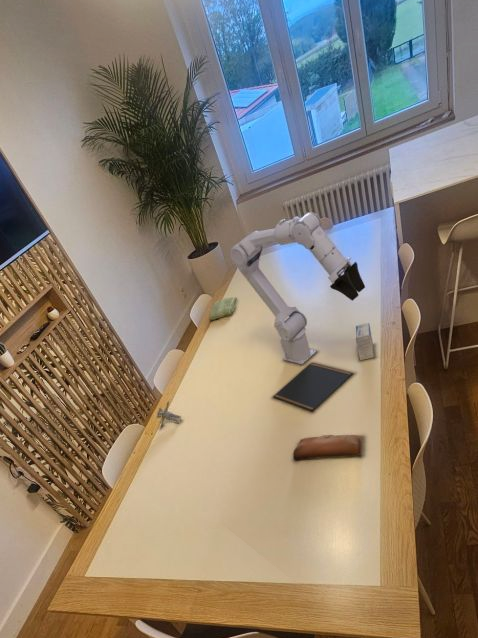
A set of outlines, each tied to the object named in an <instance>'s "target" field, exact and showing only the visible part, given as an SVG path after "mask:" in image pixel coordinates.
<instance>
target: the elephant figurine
mask: <svg viewBox="0 0 478 638" xmlns="http://www.w3.org/2000/svg"><path fill="white" fill-rule="evenodd" d="M169 405H170V401H167V403H166V406H165V408H164V409H163V408H161V407H159V408H158V411H157V413H156V414H157V415H156V419H161V423H160V428H161V429H162V428H163V426H164V422H165V419H166V420H167V421H172V422H175V423H178V424H180V423H181V418H182V416H181V415H178V414H175V413H173V412H171V411H168V408H169Z"/></svg>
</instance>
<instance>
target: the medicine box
mask: <svg viewBox="0 0 478 638" xmlns="http://www.w3.org/2000/svg"><path fill="white" fill-rule="evenodd" d="M355 342H356V347H357V352H358V356H359V360H360V361H364V360H369V359H373V358H374V357H375V355H374V343H373V337H372V331H371V326H370V322H365V323H361V324H357V325H355Z"/></svg>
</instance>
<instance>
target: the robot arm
mask: <svg viewBox="0 0 478 638" xmlns="http://www.w3.org/2000/svg"><path fill="white" fill-rule="evenodd" d="M273 243H277V244H278V245H280V246H285V245H290V244H294V243H296V244H298V245H300V246H303V247H304V248H305V249H306V250H309V252H310V253H311V254H312V256H314V258H315V259H316V260H317V262H318V263H319V265H320V266H321V267H322V268H323V269H324V270H325V271H326V273H327V274H328V275H329V276H328V277H327V278H328V280H329V281H330V282H331V284H330V286H329V287H330V288H331V290H335V291H337V292H339V293H341V294H342V295H344V296H345V297H346V298H348V299H349V300H350V301H354V300H355V299H357V298H358V297H359V296H360V295H359V293H361V292H362V291H363V290H364V289H365V288H366V286H365V283H364V281H363V279H362V276H361V273H360V271H359V268H358V267H359V266H358V263H357V261H355V262H354V263H352V262H351V261H350V260H352V257H351V256H349V257H348V258H346V257H345V256H344V255H343V253H342V252H341V251H340V250H339V248H338V247H337V246H336V244H335V243H334V242H333V241H332V240H331V238H330V237H329V236H328V235H327V233H326V232H325V231H324V230H323V228H322V221H321V218H320V216H319V215H318V214H317V213H316V212H312V211H307V212H306V213H304V215H303V216H302V217H299V216H294V217H293V218H292V219H289V220H286V219H285V218H283V219H281V220H279V221H278V223H277V224H276V225H275V227H274V228H271V229H264V230H255V231H252V232H250V233H249V234H247V235H246V236H245V237H243V239H241V240H240V241H239V242H238V243H237V244H235V245H232V247H231V248H230V259H231V262H232V263H233V265H235V266H236V268H237V269H238V271H239V272H240V273H241V274H242V276H243V277H244V278H245V281H247V282H248V283H249V285H250V286H251V288H253V290H254V291H255V293H256V294H257V295H258V297H260V299H261V300H262V301H263V303H264V304H265V306H266V307H267V308H268V309H269V310H270V312H271V313H272V314H273V316H274V317H275V319H274V325H273V328H275V329H276V331H277V334H278V337H279V338H280V345H281V349H282V351H283V354H284V358H283V360H284V361H286V362H287V361H288V362H291V363H295V364H299V365H304V363H305V362H307V361H308V360H309V359H310V358H312V356H313V355H315V354H317V351H316V350H315V349H314V350H313V349H311V348H310V345H309V341H308V338H307V333H306V327H307V324H308V319H307V317H306V315H305V314H304V313H303V312H302V311H300V310H299V309H298V308H297V307H296V306H291V305H288V304H287V303H286V301H285V300H284V298H282V297H281V295H280V294H279V292H278V291H277V290H276V288H275V287H274V285H272V283H271V282H270V280H269V279H268V278H267V277H266V275H265V274H264V272H263V271H262V270H261V269H260V261H261V257H262V253H263V249H264V246H266V245H269V244H273Z"/></svg>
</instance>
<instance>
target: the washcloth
mask: <svg viewBox="0 0 478 638" xmlns="http://www.w3.org/2000/svg"><path fill="white" fill-rule="evenodd" d="M237 299H238V298H237V296H231V297H225V298H223V299H221V300H216V301H214V302H213V303H212V307H211V310H210V312H209V320H210V321H215V320H218V319H221V318H224V317H229V316H232V315H233V314H234V312H235V309H236V302H237Z"/></svg>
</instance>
